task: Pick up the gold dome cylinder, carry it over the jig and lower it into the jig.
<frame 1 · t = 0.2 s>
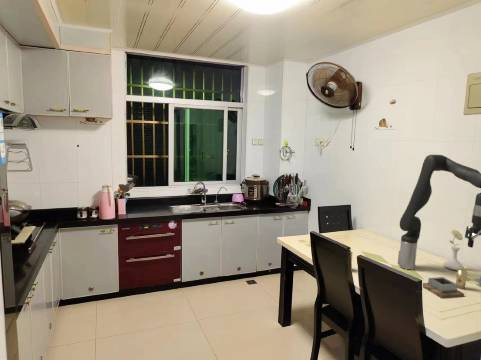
hand: (477, 246, 159), 29 cm above the table, tool pointing down, fingers open, 8 cm apart
skincare box: (345, 269, 199), on the table
jig: (441, 290, 174), on the table
flower in vase: (452, 268, 208), on the table
gold dome cylinder: (460, 287, 179), on the table
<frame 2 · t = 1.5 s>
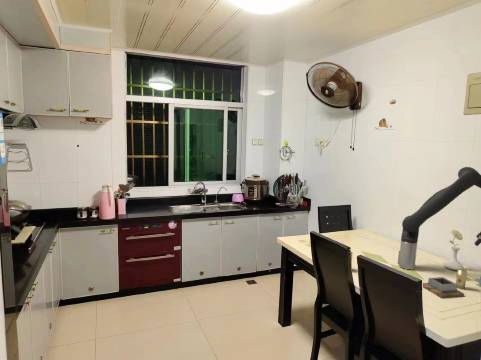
nothing on the table moved.
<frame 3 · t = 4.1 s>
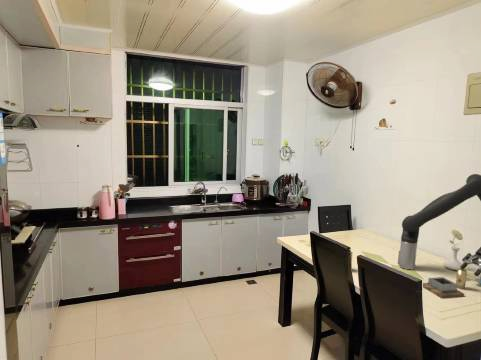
hand: (468, 271, 179), 9 cm above the table, tool tilted 45°, fingers open, 8 cm apart
nothing on the table moved.
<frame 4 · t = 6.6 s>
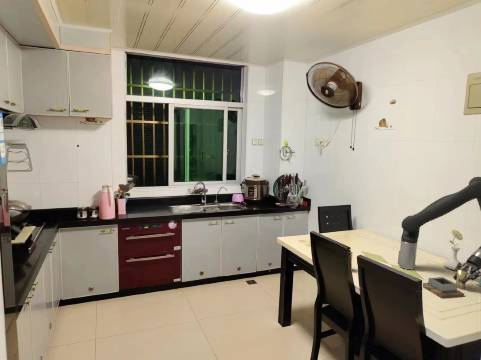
hand: (458, 280, 178), 4 cm above the table, tool tilted 45°, fingers closed on gold dome cylinder, 4 cm apart
gold dome cylinder: (460, 287, 179), on the table, touching gripper
everything else where it was.
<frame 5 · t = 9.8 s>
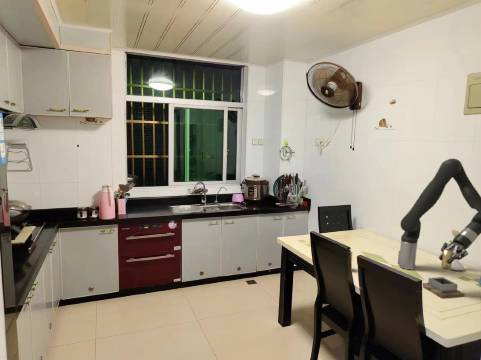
hand: (443, 260, 172), 17 cm above the table, tool tilted 45°, fingers closed on gold dome cylinder, 4 cm apart
gold dome cylinder: (445, 268, 173), point 13 cm above the table, touching gripper
everything else where it was.
when the fingers open (7 cm above the table, at t = 13.2 s): gold dome cylinder drops 1 cm, resting on jig.
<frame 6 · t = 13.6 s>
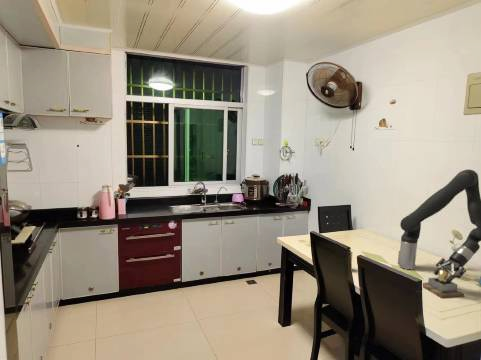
hand: (441, 277, 173), 8 cm above the table, tool tilted 45°, fingers open, 8 cm apart
gold dome cylinder: (441, 288, 174), point 2 cm above the table, touching jig
everything else where it was.
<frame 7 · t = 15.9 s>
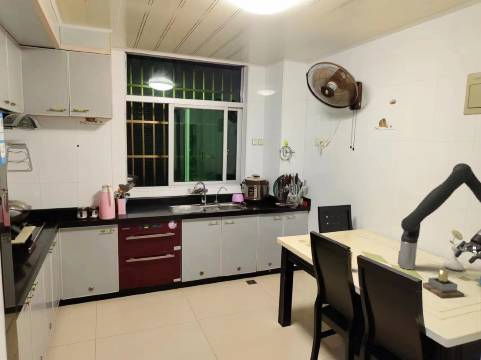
hand: (462, 259, 174), 17 cm above the table, tool tilted 45°, fingers open, 8 cm apart
nothing on the table moved.
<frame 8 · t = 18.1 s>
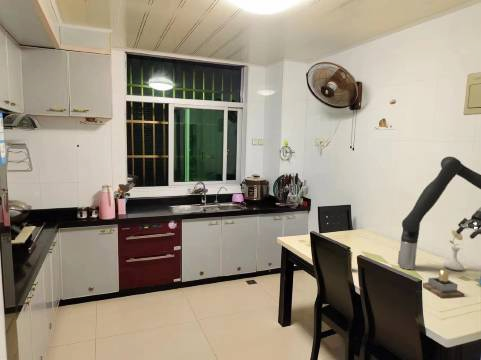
hand: (464, 235, 180), 29 cm above the table, tool tilted 45°, fingers open, 8 cm apart
nothing on the table moved.
at the end: gold dome cylinder 0.1 cm off-centre on the jig, point 1.6 cm above the jig's base; gold dome cylinder tilted 1°; the gripper is holding nothing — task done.
